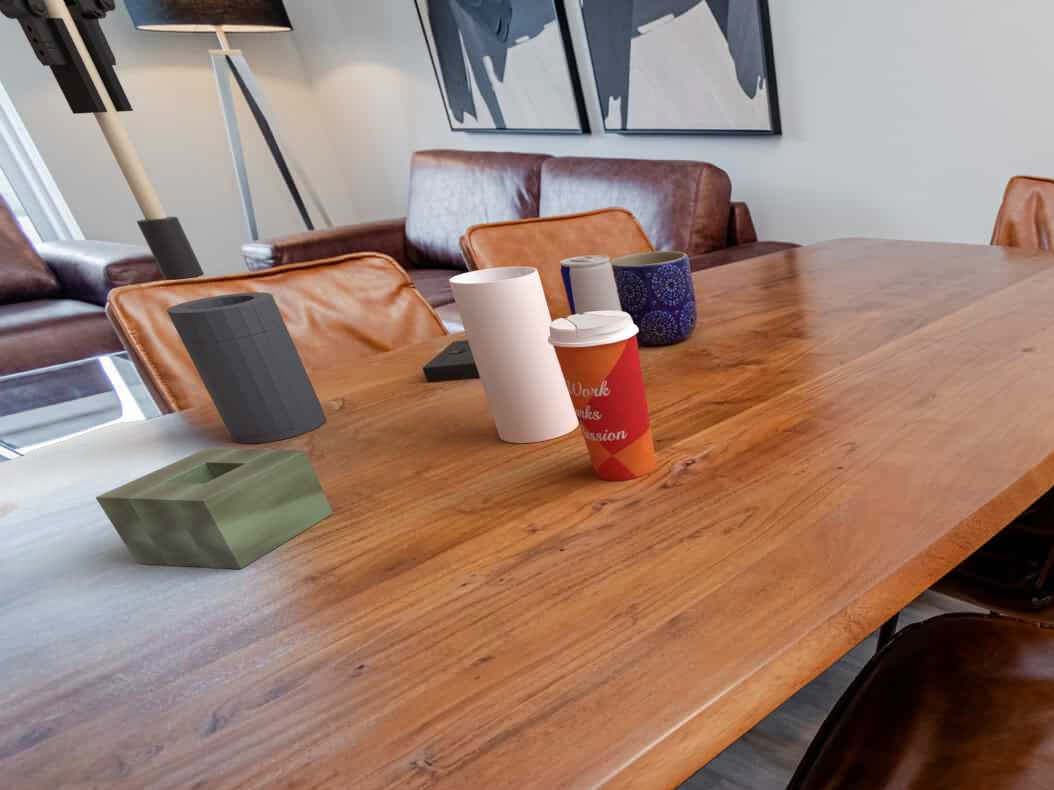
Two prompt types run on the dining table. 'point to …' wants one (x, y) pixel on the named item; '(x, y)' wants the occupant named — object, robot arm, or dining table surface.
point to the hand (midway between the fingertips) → (103, 111)
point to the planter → (657, 295)
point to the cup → (515, 352)
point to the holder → (217, 507)
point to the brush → (136, 174)
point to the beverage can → (590, 284)
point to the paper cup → (606, 390)
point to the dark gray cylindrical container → (249, 366)
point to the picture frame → (452, 364)
